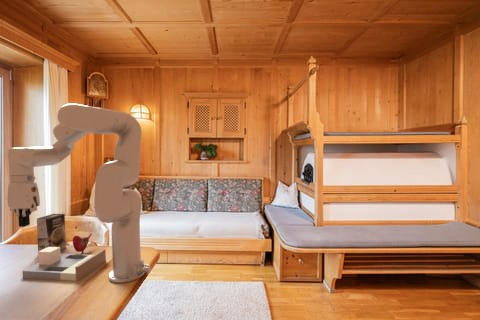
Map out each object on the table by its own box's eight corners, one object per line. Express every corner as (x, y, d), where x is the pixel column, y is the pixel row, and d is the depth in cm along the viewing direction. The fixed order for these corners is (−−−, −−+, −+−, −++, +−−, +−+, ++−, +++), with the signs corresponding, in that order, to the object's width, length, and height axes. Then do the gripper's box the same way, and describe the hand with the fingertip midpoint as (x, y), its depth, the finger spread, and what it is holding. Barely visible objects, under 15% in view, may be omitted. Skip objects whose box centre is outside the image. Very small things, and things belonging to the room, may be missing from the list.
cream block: (60, 259, 109) (60, 247, 109) (50, 265, 104) (50, 252, 104) (49, 258, 110) (48, 246, 109) (38, 264, 105) (38, 251, 105)
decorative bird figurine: (70, 261, 113) (68, 238, 112) (89, 245, 130) (88, 225, 130) (77, 261, 113) (76, 237, 112) (95, 245, 131) (94, 224, 130)
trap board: (105, 261, 113) (105, 249, 113) (78, 280, 97) (77, 266, 97) (57, 259, 116) (56, 247, 115) (22, 277, 100) (21, 264, 99)
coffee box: (49, 255, 119) (47, 218, 118) (37, 254, 121) (35, 218, 120) (67, 247, 128) (65, 213, 127) (55, 246, 130) (53, 212, 129)
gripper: (47, 178, 109) (49, 223, 110) (13, 177, 111) (16, 222, 112) (30, 180, 102) (33, 229, 103) (-5, 180, 103) (-2, 228, 105)
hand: (24, 225), depth 107 cm, fingers closed
